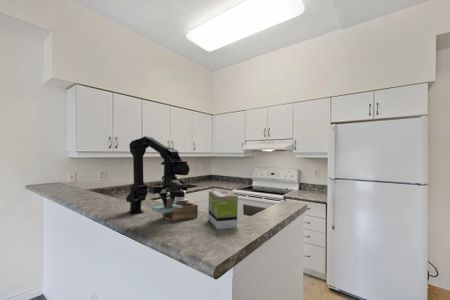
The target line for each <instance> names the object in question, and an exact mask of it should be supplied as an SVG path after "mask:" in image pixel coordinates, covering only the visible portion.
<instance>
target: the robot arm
mask: <svg viewBox="0 0 450 300" xmlns="http://www.w3.org/2000/svg"><path fill="white" fill-rule="evenodd" d="M149 147H150V149H152V150H154V151H156V152H157V153H159V156H160V157H161V158H162V160H163V161H162V162H161V163H160V165H162V166H163V175H162V177H161V178H162V179H163V182H162V184H161V185H160V186H159V185H150V186H149V185H148V184H145V182H144V155H145V154H146V151H147V149H148V148H149ZM129 152H130V154H131V155H132V158H133V162H132V164H133V168H132V169H133V183H132V185H131V187H130V191H129V193H128V195H127V196H126V198H125V200H126V202H127V203H129V210H127V213H129V214H130V215H135V214H134V213H136V214H141V213H140V212H143V213H144V210H142V202H143V201H146V197H147V196H148V193H151V194H158V195H159V196H160V199H161V201H162V205H164V206H166V199H167V198H168V197H167V196H168V192H167V191H169V198H171V199H173V202H174V199H175V197H176V195H177V194H178V193H180V190H183V191H188V188H189V187H188V185H187V184H186V183H185V180H184V179H180V180H178V176H183V177H184V176H188V175H189V172H190V170H191V168H190V166H189V165H188V161H187V160H185V161H183V160H182V159H181V156H180V154H179V151H178V150H177V149H175V148H172V147H168V146H166V145H164V144H163V143H161V142H159V141H158V140H156V139H154V138H153V137H152V136H143V137H141V138H137V139H134V140H132V141H131V142H129ZM148 186H149V187H148Z"/></svg>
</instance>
